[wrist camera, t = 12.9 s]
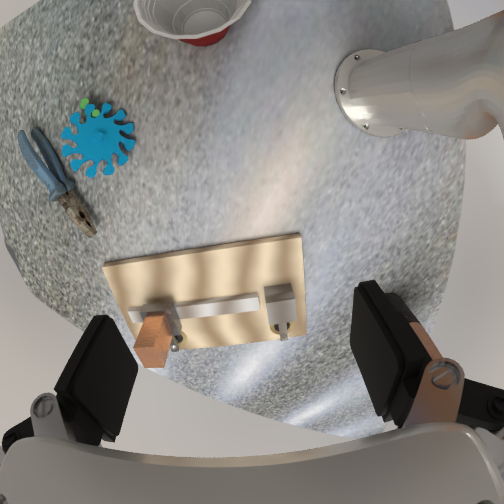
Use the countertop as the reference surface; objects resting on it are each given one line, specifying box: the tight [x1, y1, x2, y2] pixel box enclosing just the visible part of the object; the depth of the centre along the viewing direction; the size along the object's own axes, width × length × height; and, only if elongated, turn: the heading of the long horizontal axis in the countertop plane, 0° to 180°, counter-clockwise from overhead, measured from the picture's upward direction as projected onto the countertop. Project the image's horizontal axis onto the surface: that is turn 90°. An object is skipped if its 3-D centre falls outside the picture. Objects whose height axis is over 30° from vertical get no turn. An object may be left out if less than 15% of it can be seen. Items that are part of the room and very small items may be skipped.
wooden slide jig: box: [102, 233, 307, 350], centre depth 41 cm, size 30×18×6 cm, turn 98°
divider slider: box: [133, 301, 182, 368], centre depth 39 cm, size 5×10×10 cm, turn 8°
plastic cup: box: [133, 0, 251, 46], centre depth 21 cm, size 11×11×12 cm
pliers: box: [17, 128, 97, 238], centre depth 31 cm, size 20×2×6 cm, turn 32°
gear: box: [61, 98, 135, 178], centre depth 30 cm, size 11×6×10 cm
